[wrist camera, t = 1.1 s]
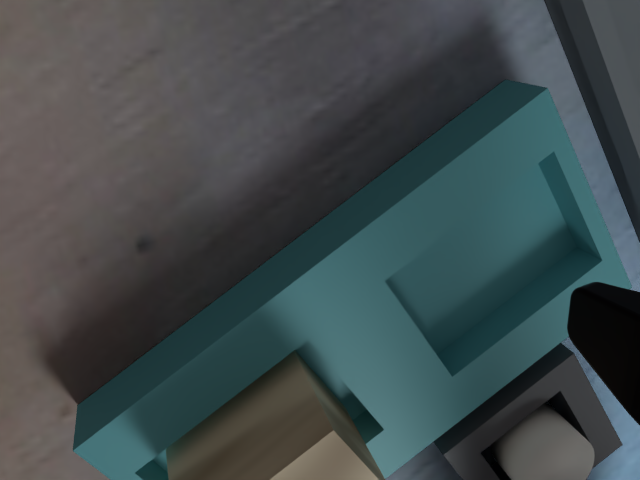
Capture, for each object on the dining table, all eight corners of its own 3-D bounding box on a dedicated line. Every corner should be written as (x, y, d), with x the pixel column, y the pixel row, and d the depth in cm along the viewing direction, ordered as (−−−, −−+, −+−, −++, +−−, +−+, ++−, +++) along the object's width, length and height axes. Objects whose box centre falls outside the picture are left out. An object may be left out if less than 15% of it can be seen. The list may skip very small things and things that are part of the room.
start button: (568, 433, 28) (604, 468, 26) (509, 479, 28) (540, 518, 26) (542, 388, 27) (578, 421, 25) (478, 437, 27) (509, 475, 25)
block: (345, 407, 24) (396, 500, 20) (228, 497, 24) (253, 612, 20) (291, 345, 23) (335, 433, 18) (165, 443, 22) (176, 555, 18)
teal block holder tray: (590, 263, 27) (631, 287, 25) (238, 536, 27) (249, 584, 24) (505, 79, 22) (547, 88, 20) (77, 405, 22) (72, 450, 20)
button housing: (586, 412, 31) (622, 444, 28) (478, 496, 30) (507, 535, 28) (537, 324, 27) (574, 353, 25) (417, 418, 27) (443, 455, 25)
